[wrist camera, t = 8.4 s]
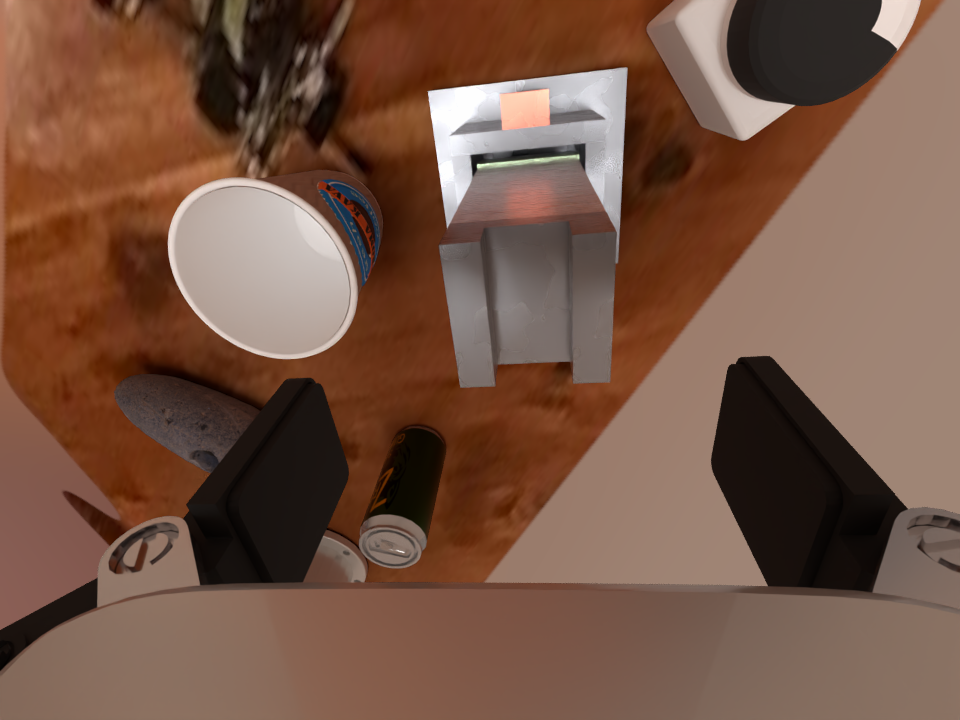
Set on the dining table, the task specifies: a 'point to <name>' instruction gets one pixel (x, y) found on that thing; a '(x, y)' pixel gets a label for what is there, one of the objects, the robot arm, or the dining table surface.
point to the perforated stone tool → (185, 416)
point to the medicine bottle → (774, 54)
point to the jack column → (530, 269)
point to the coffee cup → (276, 258)
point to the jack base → (533, 129)
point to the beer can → (403, 499)
